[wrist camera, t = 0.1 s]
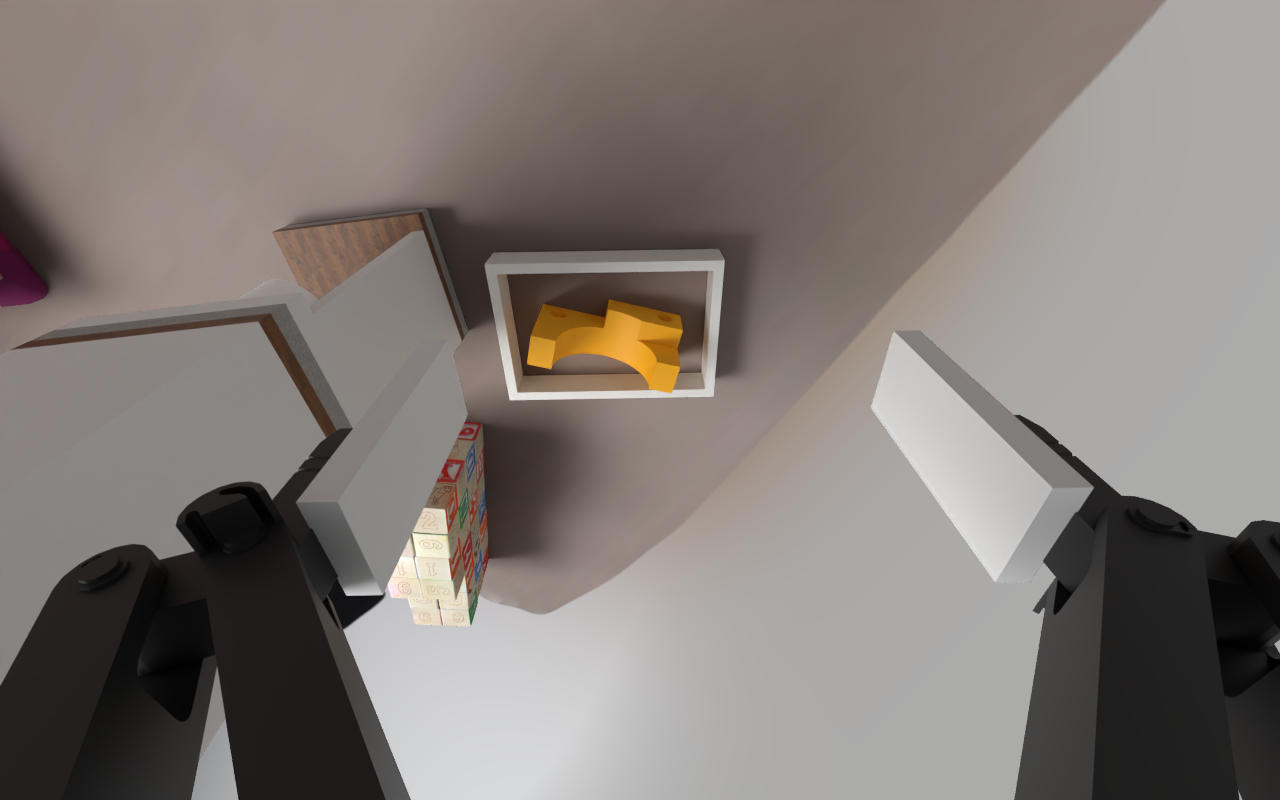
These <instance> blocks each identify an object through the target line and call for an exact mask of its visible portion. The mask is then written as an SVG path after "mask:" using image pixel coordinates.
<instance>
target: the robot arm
mask: <svg viewBox="0 0 1280 800" xmlns="http://www.w3.org/2000/svg"><path fill="white" fill-rule="evenodd" d="M871 409H872V410H873V411H874V413H875V414H876V416H877V417H878V418H879V420H880V421H881V423H882V424H883V425H884V427H885V428H886V430H887V431H888V432H889V434H890V435H891V437H892V438H893V440H894V441H895V442H896V444H897V445H898V446H899V448H900V449H901V451H902V452H903V453H904V455H905V456H906V458H907V459H908V460H909V462H910V463H911V465H912V466H913V468H914V469H915V470H916V471H917V473H918V474H919V476H920V477H921V479H922V480H923V482H924V483H925V484H926V486H927V487H928V489H929V490H930V491H931V493H932V494H933V496H934V497H935V498H936V500H937V501H938V503H939V504H940V505H941V507H942V508H943V510H944V511H945V512H946V514H947V515H948V517H949V518H950V520H951V521H952V522H953V524H954V525H955V527H956V528H957V529H958V531H959V532H960V534H961V535H962V536H963V538H964V539H965V541H966V542H967V543H968V545H969V546H970V547H971V549H972V550H973V552H974V553H975V555H976V556H977V557H978V559H979V560H980V562H981V563H982V564H983V566H984V567H985V569H986V570H987V571H988V573H989V574H990V576H991V577H992V579H993V580H994V581H995V582H1031V581H1032V579H1033V577H1034V576H1035V575H1036V573H1037V572H1038V570H1039V569H1040V567H1041V566H1042V564H1043V563H1045V564H1046V565H1047V567H1048V568H1049V569H1050V570H1051V572H1052V573H1053V574H1054V575H1055V576H1056V578H1055V579H1054V581H1053V582H1052V584H1051V585H1050V586H1049V588H1048V589H1047V591H1046V592H1045V593H1044V595H1043V596H1042V598H1041V599H1040V600H1039V602H1038V603H1037V605H1036V606H1035V608H1034V609H1033V611H1034V612H1036V613H1038V614H1039V613H1040V612H1041V610H1042V609H1043V608H1045V612H1044V619H1043V625H1042V631H1041V637H1040V644H1039V650H1038V656H1037V662H1036V669H1035V675H1034V681H1033V687H1032V694H1031V700H1030V706H1029V712H1028V718H1027V725H1026V731H1025V737H1024V744H1023V750H1022V756H1021V762H1020V768H1019V775H1018V781H1017V787H1016V793H1015V799H1014V800H1239V793H1240V795H1241V797H1242V800H1280V653H1279V652H1278V650H1277V648H1276V646H1275V645H1274V644H1275V643H1276V642H1277V641H1279V640H1280V523H1279V522H1272V521H1265V520H1261V521H1254V522H1251V523H1250V524H1249V525H1248V526H1247V527H1246V528H1245V529H1244V530H1243V531H1242V532H1241V533H1240V534H1239V535H1238V536H1237V537H1236V538H1234V537H1229V536H1223V535H1219V534H1214V533H1209V532H1203V531H1198V530H1197V528H1195V526H1193V525H1192V524H1191V523H1190V522H1189V521H1188V520H1187V519H1186V518H1184V517H1183V516H1181V515H1180V514H1178V513H1176V512H1175V511H1173V510H1172V509H1170V508H1168V507H1165V506H1163V505H1161V504H1158V503H1156V502H1154V501H1151V500H1147V499H1143V498H1139V497H1135V496H1121V495H1120V494H1119V493H1118V492H1116V491H1115V490H1114V489H1113V488H1112V487H1111V486H1109V485H1108V484H1107V483H1106V482H1105V481H1104V480H1102V479H1101V478H1100V477H1099V476H1098V475H1097V474H1096V473H1094V472H1093V471H1092V470H1091V469H1090V468H1089V467H1087V466H1086V465H1085V464H1084V463H1083V462H1082V461H1081V460H1079V459H1078V458H1077V457H1076V456H1072V453H1071V452H1070V451H1069V450H1068V449H1067V448H1065V447H1064V446H1063V445H1062V444H1059V443H1058V442H1059V441H1058V440H1056V439H1055V438H1054V437H1053V436H1052V435H1051V434H1049V433H1048V432H1047V431H1046V430H1045V429H1044V428H1042V427H1041V426H1039V425H1037V424H1035V423H1033V422H1031V421H1030V420H1028V419H1026V418H1024V417H1022V416H1020V415H1013V414H1012V413H1011V412H1010V411H1008V409H1006V408H1005V407H1004V406H1003V405H1002V404H1001V403H1000V402H999V401H998V400H996V399H995V398H994V397H993V396H992V395H991V394H990V393H989V392H988V391H986V390H985V389H984V388H983V387H982V386H981V385H980V384H979V383H978V382H976V381H975V380H974V379H973V378H972V377H971V376H970V375H969V374H967V373H966V372H965V371H964V370H963V369H962V368H961V367H960V366H959V365H957V364H956V363H955V362H954V361H953V360H952V359H951V358H950V357H949V356H947V355H946V354H945V353H944V352H943V351H942V350H941V349H940V348H939V347H937V346H936V345H935V344H934V343H933V342H932V341H931V340H929V338H927V337H926V336H925V335H924V334H923V333H922V332H921V331H894V332H893V336H892V339H891V342H890V346H889V349H888V352H887V356H886V359H885V362H884V366H883V369H882V373H881V376H880V379H879V383H878V386H877V389H876V393H875V396H874V399H873V403H872V406H871ZM467 416H468V413H467V409H466V405H465V401H464V397H463V393H462V389H461V385H460V381H459V377H458V373H457V369H456V365H455V361H454V357H453V353H452V349H451V345H450V341H449V338H445V339H422V340H421V342H420V343H419V344H418V346H417V347H416V348H415V350H414V351H413V352H412V353H411V355H410V356H409V357H408V359H407V360H406V361H405V362H404V364H403V365H402V366H401V368H400V369H399V370H398V371H397V373H396V374H395V375H394V377H393V378H392V379H391V380H390V382H389V383H388V384H387V386H386V387H385V388H384V389H383V391H382V392H381V393H380V395H379V396H378V397H377V398H376V400H375V401H374V402H373V404H372V405H371V406H370V407H369V409H368V410H367V411H366V413H365V414H364V415H363V416H362V418H361V419H360V420H359V422H358V423H357V424H356V425H355V427H354V428H342V429H339V430H337V431H336V432H334V433H333V434H331V435H330V436H329V437H327V438H326V439H324V440H323V441H321V442H320V443H319V445H318V446H317V447H316V448H315V449H314V451H313V452H312V453H311V454H310V455H309V456H308V457H309V458H308V460H305V461H304V462H303V464H302V465H301V466H300V467H299V468H298V472H295V473H294V474H293V476H292V477H291V478H290V479H289V480H288V482H287V483H286V484H285V485H284V486H283V488H282V489H281V490H280V491H279V492H278V494H277V495H276V496H275V497H274V498H273V500H272V499H271V497H270V495H269V494H268V492H267V490H266V489H265V488H264V487H263V486H262V485H261V484H260V483H255V482H251V481H247V482H236V483H232V484H228V485H225V486H221V487H218V488H216V489H214V490H212V491H210V492H208V493H205V494H203V495H201V496H200V497H199V498H197V499H196V500H194V501H193V502H192V503H190V504H189V505H187V506H186V508H185V509H184V510H183V511H182V512H181V513H180V515H179V516H178V518H177V522H176V527H177V529H178V530H179V531H180V533H181V534H182V535H183V536H184V538H185V539H186V540H187V542H188V543H189V544H190V546H191V547H192V548H193V550H194V551H193V552H189V553H185V554H181V555H177V556H173V557H169V558H165V559H161V560H159V559H158V557H157V556H156V555H155V554H154V553H153V551H152V550H151V549H149V548H148V547H147V546H146V545H140V544H129V545H124V546H119V547H115V548H112V549H109V550H107V551H104V552H101V553H99V554H96V555H94V556H92V557H90V558H89V559H87V560H85V561H83V562H82V563H80V564H79V565H77V566H76V567H75V568H73V569H72V570H71V571H70V572H68V573H67V574H66V575H65V576H63V577H62V578H61V580H60V581H59V582H58V583H57V585H56V586H55V587H54V588H53V590H52V592H51V593H50V595H49V597H48V599H47V601H46V603H45V605H44V606H43V608H42V610H41V612H40V614H39V616H38V617H37V619H36V621H35V623H34V625H33V627H32V628H31V630H30V632H29V634H28V636H27V638H26V639H25V641H24V643H23V645H22V647H21V649H20V650H19V652H18V654H17V656H16V658H15V660H14V662H13V663H12V665H11V667H10V669H9V671H8V673H7V674H6V676H5V678H4V680H3V682H2V684H1V685H0V800H191V797H192V792H193V787H194V781H195V776H196V771H197V766H198V761H199V756H200V751H201V746H202V741H203V736H204V730H205V725H206V720H207V715H208V710H209V705H210V700H211V695H212V689H213V684H214V679H215V674H216V669H217V668H218V674H219V681H220V687H221V693H222V699H223V706H224V712H225V718H226V724H227V730H228V737H229V743H230V749H231V755H232V762H233V767H234V774H235V781H236V787H237V792H238V799H239V800H411V799H410V797H409V794H408V792H407V789H406V787H405V784H404V782H403V779H402V777H401V774H400V772H399V769H398V767H397V764H396V762H395V759H394V757H393V754H392V752H391V749H390V747H389V744H388V742H387V739H386V737H385V734H384V732H383V729H382V727H381V724H380V722H379V719H378V717H377V714H376V712H375V709H374V707H373V704H372V701H371V700H370V696H369V694H368V691H367V689H366V687H365V684H364V682H363V679H362V677H361V674H360V672H359V669H358V666H357V664H356V662H355V659H354V656H353V654H352V651H351V649H350V647H349V644H348V642H347V639H346V636H345V634H344V631H343V629H342V626H341V624H340V621H339V619H338V616H337V614H336V611H335V609H334V606H333V604H332V602H331V600H330V599H329V597H328V593H329V591H330V590H331V588H332V586H333V584H334V583H335V581H336V579H338V581H339V583H340V584H341V586H342V588H343V590H344V592H345V594H346V595H347V596H351V595H383V593H384V591H385V589H386V587H387V585H388V583H389V580H390V578H391V576H392V574H393V572H394V570H395V568H396V566H397V564H398V561H399V559H400V557H401V555H402V553H403V551H404V549H405V547H406V545H407V542H408V540H409V538H410V536H411V534H412V532H413V530H414V528H415V526H416V524H417V521H418V519H419V517H420V515H421V513H422V511H423V509H424V507H425V505H426V502H427V500H428V498H429V496H430V494H431V492H432V490H433V488H434V486H435V483H436V481H437V479H438V477H439V475H440V473H441V471H442V469H443V467H444V464H445V462H446V460H447V458H448V456H449V454H450V452H451V450H452V448H453V445H454V443H455V441H456V439H457V437H458V435H459V433H460V431H461V429H462V426H463V424H464V422H465V420H466V418H467ZM1238 790H1239V793H1238Z"/></svg>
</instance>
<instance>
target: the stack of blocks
mask: <svg viewBox="0 0 1280 800" xmlns="http://www.w3.org/2000/svg"><path fill="white" fill-rule="evenodd" d="M484 488H485V485H484V451H483V425H482V424H481V423H471V422H464V424H463V426H462V429H461V431H460V433H459V435H458V437H457V439H456V441H455V443H454V445H453V448H452V450H451V452H450V454H449V456H448V458H447V460H446V462H445V464H444V467H443V469H442V471H441V473H440V475H439V477H438V479H437V481H436V483H435V486H434V488H433V490H432V492H431V494H430V496H429V498H428V500H427V502H426V505H425V507H424V509H423V511H422V513H421V515H420V517H419V519H418V521H417V524H416V526H415V528H414V530H413V532H412V534H411V536H410V538H409V540H408V542H407V545H406V547H405V549H404V551H403V553H402V555H401V557H400V559H399V561H398V564H397V566H396V568H395V570H394V572H393V574H392V576H391V578H390V580H389V583H388V589H389V592H390V595H391V597H392V598H408V600H409V605H410V607H411V610H412V615H413V620H414V623H415V624H426V625H451V626H469V627H470V626H471V624H472V621H473V617H474V614H475V610H476V607H477V600H478V596H479V593H480V589H481V586H482V582H483V577H484V574H485V571H486V567H487V563H488V560H489V557H488V530H487V509H486V502H485V489H484Z"/></svg>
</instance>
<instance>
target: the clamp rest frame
mask: <svg viewBox="0 0 1280 800" xmlns="http://www.w3.org/2000/svg"><path fill="white" fill-rule="evenodd" d="M724 263H725V260H724V258H723V256H722V254H721V252H720V250H719V249H683V250H621V251H559V252H497V253H493V254H492V255H491V256H490V258H489V259H488V260H487V262H486V263H485V264H484V265H485V270H486V276H487V281H488V286H489V292H490V297H491V302H492V308H493V313H494V318H495V324H496V329H497V334H498V340H499V345H500V350H501V356H502V361H503V366H504V372H505V377H506V382H507V388H508V393H509V398H510V400H550V399H606V398H661V397H713V395H714V383H715V371H716V359H717V347H718V335H719V323H720V311H721V299H722V287H723V275H724ZM666 271H708V277H707V292H706V308H705V323H704V338H703V354H702V369H701V373H678V376H677V379H676V382H675V385H674V388H673V391H672V393H667V392H662V391H657V390H652V389H649V386H648V383H647V381H646V379H645V378H644V377H643V375H642V374H593V375H536V376H523V371H522V364H521V358H520V352H519V346H518V340H517V334H516V328H515V322H514V316H513V310H512V304H511V297H510V291H509V285H508V279H507V274H544V273H605V272H666Z"/></svg>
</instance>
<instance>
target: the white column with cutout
mask: <svg viewBox="0 0 1280 800" xmlns="http://www.w3.org/2000/svg"><path fill="white" fill-rule="evenodd" d="M272 233H273V235H274V237H275V239H276V241H277V243H278V245H279V247H280V249H281V251H282V253H283V255H284V257H285V258H286V260H287V262H288V264H289V266H290V268H291V270H292V272H293V274H294V276H295V278H296V280H297V282H298V284H299V285H297V284H295V283H292V282H290V281H287V280H282V279H271V280H268V281H266V282H264V283H262V284H261V285H259V286H257V287H255V288H254V289H252V290H250V291H248V292H247V293H245V294H243V295H241V296H240V297H238V298H236V299H234V300H231V301H223V302H214V303H206V304H197V305H189V306H180V307H172V308H163V309H155V310H146V311H138V312H129V313H121V314H112V315H104V316H95V317H87V318H80V319H78V320H76V321H74V322H72V323H69V324H67V325H65V326H63V327H60V328H58V329H56V330H54V331H52V332H49V333H47V334H45V335H43V336H40V337H38V338H36V339H34V340H32V341H29V342H27V343H25V344H23V345H20V346H18V347H16V348H14V349H11V350H9V351H7V352H5V353H3V354H0V685H1V684H2V682H3V680H4V678H5V676H6V674H7V673H8V671H9V669H10V667H11V665H12V663H13V662H14V660H15V658H16V656H17V654H18V652H19V650H20V649H21V647H22V645H23V643H24V641H25V639H26V638H27V636H28V634H29V632H30V630H31V628H32V627H33V625H34V623H35V621H36V619H37V617H38V616H39V614H40V612H41V610H42V608H43V606H44V605H45V603H46V601H47V599H48V597H49V595H50V593H51V592H52V590H53V588H54V587H55V586H56V585H57V583H58V582H59V581H60V580H61V578H62V577H63V576H65V575H66V574H67V573H68V572H70V571H71V570H72V569H73V568H75V567H76V566H77V565H79V564H80V563H82V562H83V561H85V560H87V559H89V558H90V557H92V556H94V555H96V554H99V553H101V552H104V551H107V550H109V549H112V548H115V547H119V546H124V545H129V544H140V545H146V546H147V547H148V548H149V549H151V550H152V551H153V553H154V554H155V555H156V556H157V557H158V559H159V560H161V559H165V558H169V557H173V556H177V555H181V554H185V553H189V552H193V551H194V550H193V548H192V547H191V546H190V544H189V543H188V542H187V540H186V539H185V538H184V536H183V535H182V534H181V533H180V531H179V530H178V529H177V527H176V522H177V518H178V516H179V515H180V513H181V512H182V511H183V510H184V509H185V508H186V506H187V505H189V504H190V503H192V502H193V501H194V500H196V499H197V498H199V497H200V496H201V495H203V494H205V493H208V492H210V491H212V490H214V489H216V488H218V487H221V486H225V485H228V484H232V483H236V482H247V481H251V482H255V483H260V484H261V485H262V486H263V487H264V488H265V489H266V490H267V492H268V494H269V495H270V497H271V499H272V500H273V498H274V497H275V496H276V495H277V494H278V492H279V491H280V490H281V489H282V488H283V486H284V485H285V484H286V483H287V482H288V480H289V479H290V478H291V477H292V476H293V474H294V473H295V472H298V468H299V467H300V466H301V465H302V464H303V462H304V461H305V460H308V458H309V457H308V456H309V455H310V454H311V453H312V452H313V451H314V449H315V448H316V447H317V446H318V445H319V443H320V442H321V441H323V440H324V439H326V438H327V437H329V436H330V435H331V434H333V433H334V432H336V431H337V430H339V429H342V428H354V427H355V425H356V424H357V423H358V422H359V420H360V419H361V418H362V416H363V415H364V414H365V413H366V411H367V410H368V409H369V407H370V406H371V405H372V404H373V402H374V401H375V400H376V398H377V397H378V396H379V395H380V393H381V392H382V391H383V389H384V388H385V387H386V386H387V384H388V383H389V382H390V380H391V379H392V378H393V377H394V375H395V374H396V373H397V371H398V370H399V369H400V368H401V366H402V365H403V364H404V362H405V361H406V360H407V359H408V357H409V356H410V355H411V353H412V352H413V351H414V350H415V348H416V347H417V346H418V344H419V343H420V342H421V340H422V339H445V338H449V341H450V345H451V349H452V353H453V354H454V353H455V351H456V349H457V348H458V346H459V345H460V343H461V342H462V340H463V338H464V337H465V335H466V334H467V332H468V328H467V325H466V323H465V320H464V317H463V314H462V311H461V308H460V305H459V302H458V299H457V296H456V293H455V290H454V287H453V284H452V281H451V278H450V275H449V272H448V269H447V266H446V263H445V260H444V257H443V254H442V251H441V248H440V245H439V242H438V239H437V236H436V233H435V230H434V227H433V224H432V221H431V218H430V215H429V212H428V209H427V208H423V209H415V210H407V211H399V212H391V213H383V214H375V215H367V216H359V217H351V218H343V219H335V220H327V221H319V222H311V223H303V224H295V225H287V226H285V227H283V228H281V229H279V230H276V231H274V232H272ZM224 719H225V712H224V706H223V699H222V693H221V687H220V681H219V674H218V668H217V669H216V674H215V679H214V684H213V689H212V695H211V700H210V705H209V710H208V715H207V720H206V725H205V730H204V736H203V741H202V746H201V751H200V756H199V759H200V758H201V756H202V755H203V753H204V751H205V750H206V748H207V747H208V745H209V743H210V741H211V740H212V738H213V737H214V735H215V734H216V732H217V731H218V729H219V727H220V726H221V724H222V723H223V721H224Z"/></svg>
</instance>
